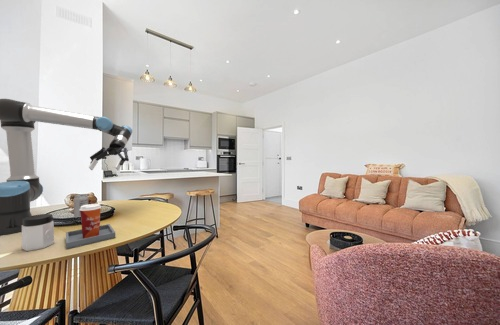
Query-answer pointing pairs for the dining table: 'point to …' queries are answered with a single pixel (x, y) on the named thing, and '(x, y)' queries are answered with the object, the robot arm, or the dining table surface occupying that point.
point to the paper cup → (90, 220)
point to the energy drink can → (79, 203)
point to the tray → (77, 238)
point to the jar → (37, 232)
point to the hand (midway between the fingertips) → (103, 168)
